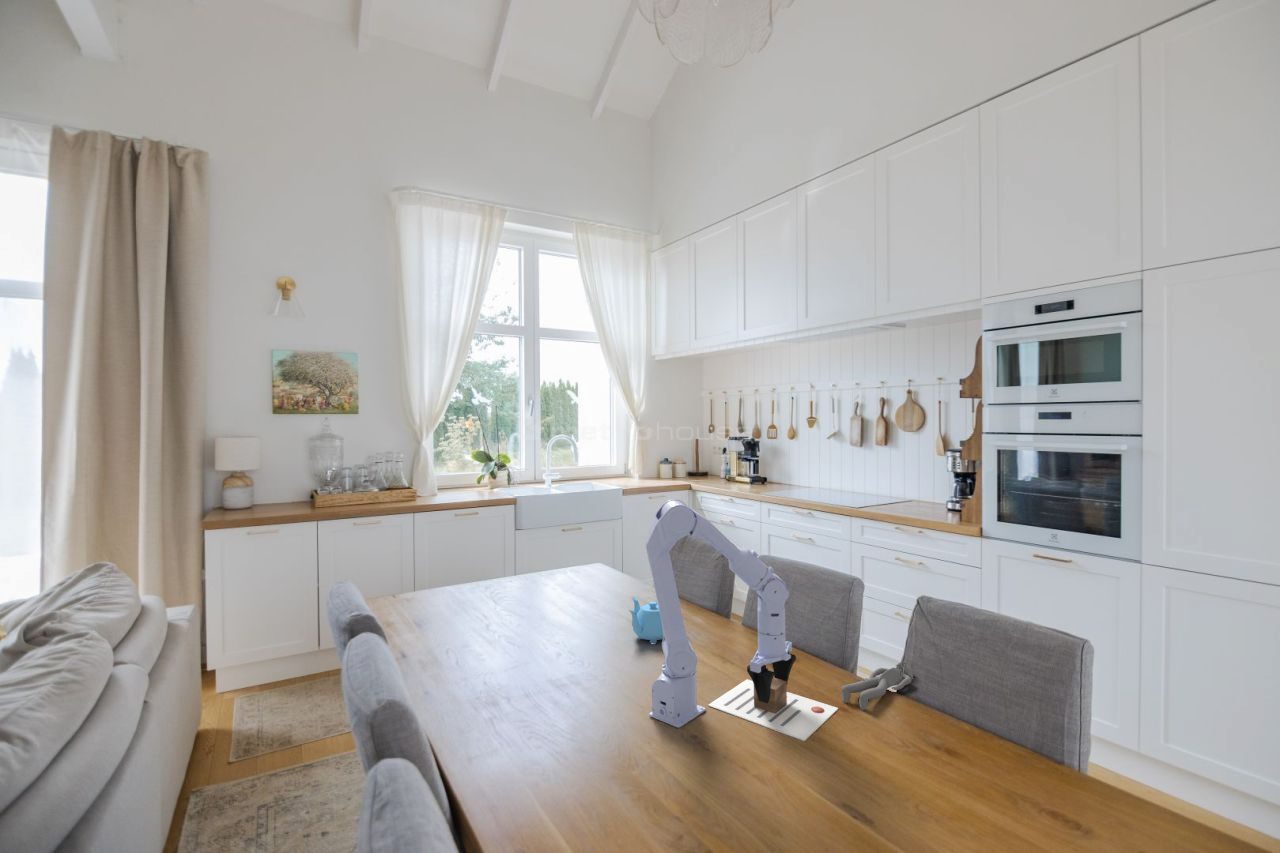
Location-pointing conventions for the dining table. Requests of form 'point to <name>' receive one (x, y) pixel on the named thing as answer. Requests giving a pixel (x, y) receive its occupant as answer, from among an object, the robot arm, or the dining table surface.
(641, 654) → the dining table surface
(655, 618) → the teapot
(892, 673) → the alien figure
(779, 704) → the walnut cube
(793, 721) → the white card
